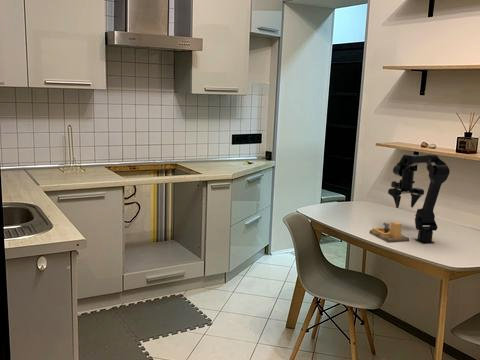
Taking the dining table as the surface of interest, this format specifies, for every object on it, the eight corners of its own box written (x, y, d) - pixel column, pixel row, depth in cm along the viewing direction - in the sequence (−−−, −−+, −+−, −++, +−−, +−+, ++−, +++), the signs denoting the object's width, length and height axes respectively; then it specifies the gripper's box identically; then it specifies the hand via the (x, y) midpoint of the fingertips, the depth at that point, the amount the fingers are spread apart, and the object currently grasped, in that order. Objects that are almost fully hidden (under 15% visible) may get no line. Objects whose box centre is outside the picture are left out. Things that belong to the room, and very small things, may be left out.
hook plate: (409, 241, 231) (410, 229, 229) (388, 242, 227) (389, 230, 226) (389, 231, 245) (390, 220, 244) (369, 232, 242) (370, 221, 241)
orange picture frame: (372, 230, 241) (373, 217, 240) (388, 229, 244) (390, 216, 243) (388, 238, 228) (390, 224, 227) (406, 237, 231) (407, 223, 230)
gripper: (412, 175, 256) (409, 203, 258) (383, 176, 250) (380, 204, 253) (426, 179, 245) (423, 208, 248) (396, 180, 239) (393, 209, 242)
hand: (404, 207), depth 248 cm, fingers open, 9 cm apart
